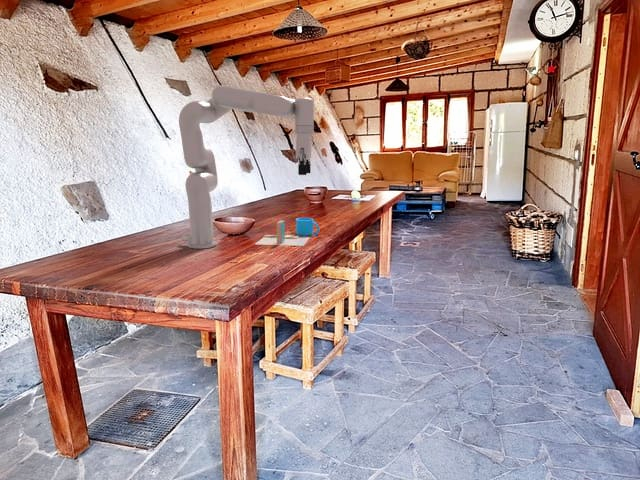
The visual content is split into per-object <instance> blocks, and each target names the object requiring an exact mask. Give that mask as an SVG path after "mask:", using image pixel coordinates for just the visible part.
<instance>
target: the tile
mask: <svg viewBox="0 0 640 480" xmlns="http://www.w3.org/2000/svg"><path fill="white" fill-rule="evenodd" d="M285 226H286V225H285V220H283V219H282V220H281V219H279V220H278V221H277V222H276V235H277V244H281V243H282V242H283V241H284V240H285V234H286V229H285V228H286V227H285Z"/></svg>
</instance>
